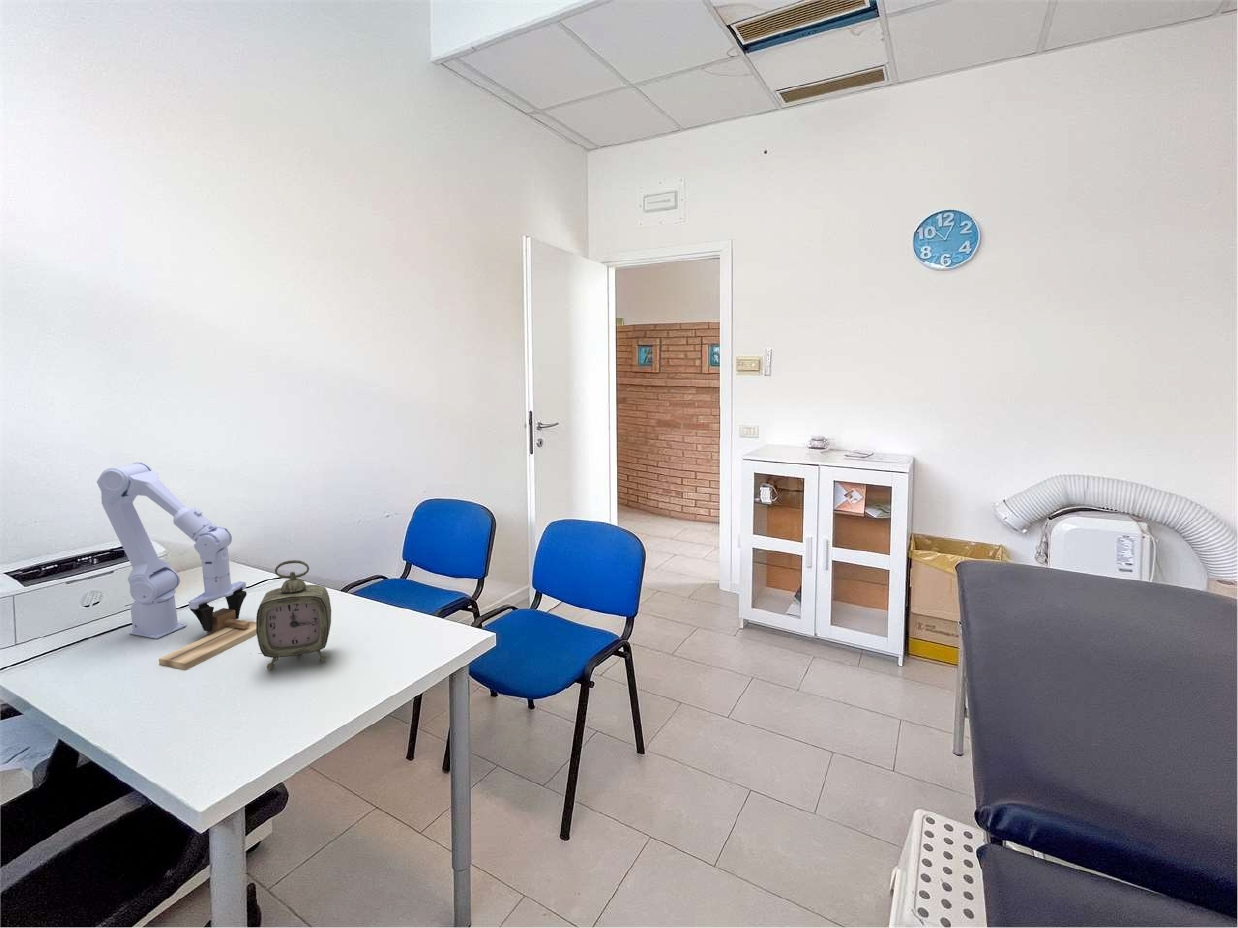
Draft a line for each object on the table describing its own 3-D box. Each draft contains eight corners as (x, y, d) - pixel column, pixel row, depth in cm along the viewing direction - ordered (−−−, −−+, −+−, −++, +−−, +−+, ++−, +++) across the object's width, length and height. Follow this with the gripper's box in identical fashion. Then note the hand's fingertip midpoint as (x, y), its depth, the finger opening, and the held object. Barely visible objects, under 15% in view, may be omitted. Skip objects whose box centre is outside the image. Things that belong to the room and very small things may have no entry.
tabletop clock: (260, 675, 131) (251, 569, 126) (267, 656, 139) (259, 557, 135) (331, 664, 136) (324, 563, 132) (334, 647, 144) (328, 551, 140)
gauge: (207, 633, 150) (205, 615, 149) (225, 625, 155) (223, 607, 154) (238, 639, 147) (237, 621, 147) (256, 631, 152) (254, 613, 151)
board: (159, 664, 134) (158, 658, 134) (243, 625, 155) (242, 619, 155) (185, 669, 132) (185, 663, 132) (267, 629, 153) (266, 623, 153)
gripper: (202, 586, 142) (207, 638, 144) (253, 567, 155) (257, 615, 158) (180, 583, 143) (185, 634, 146) (232, 564, 157) (236, 611, 159)
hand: (221, 624), depth 152 cm, fingers open, 7 cm apart
